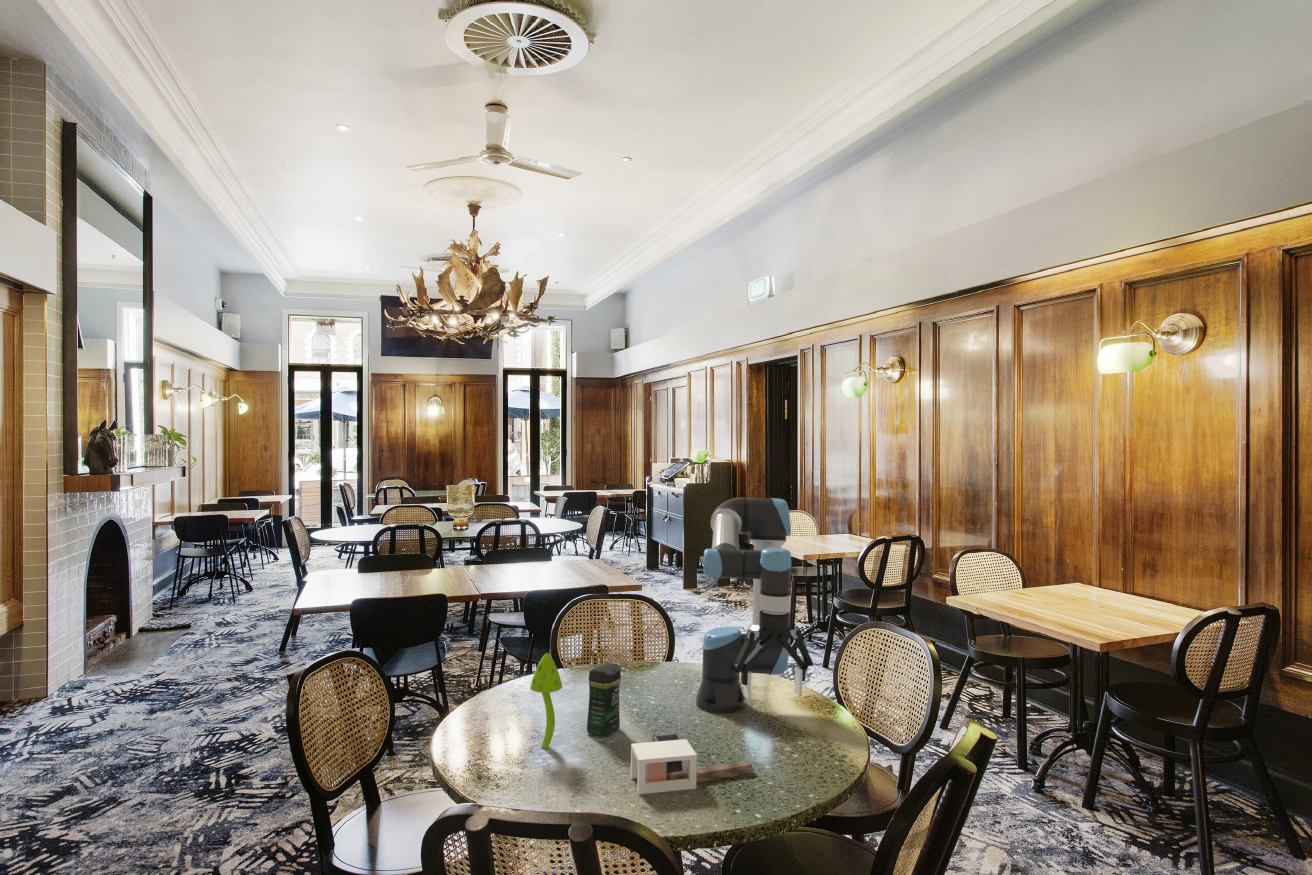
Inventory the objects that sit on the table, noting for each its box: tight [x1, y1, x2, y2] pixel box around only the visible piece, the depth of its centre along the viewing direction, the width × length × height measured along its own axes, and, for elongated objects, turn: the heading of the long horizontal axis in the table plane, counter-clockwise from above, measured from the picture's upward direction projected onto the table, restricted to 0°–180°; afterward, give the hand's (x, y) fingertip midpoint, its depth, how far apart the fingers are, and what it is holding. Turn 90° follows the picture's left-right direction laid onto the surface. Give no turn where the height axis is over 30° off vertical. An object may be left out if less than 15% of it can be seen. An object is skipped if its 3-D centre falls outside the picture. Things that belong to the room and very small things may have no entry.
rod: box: [666, 760, 753, 784], centre depth 173 cm, size 22×2×2 cm, turn 111°
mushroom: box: [529, 652, 563, 750], centre depth 188 cm, size 8×8×25 cm
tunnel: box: [630, 732, 698, 795], centre depth 173 cm, size 14×15×8 cm
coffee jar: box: [586, 661, 622, 738], centre depth 199 cm, size 10×8×19 cm
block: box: [645, 762, 667, 783], centre depth 170 cm, size 4×4×6 cm
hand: (773, 695), depth 177 cm, fingers open, 13 cm apart
